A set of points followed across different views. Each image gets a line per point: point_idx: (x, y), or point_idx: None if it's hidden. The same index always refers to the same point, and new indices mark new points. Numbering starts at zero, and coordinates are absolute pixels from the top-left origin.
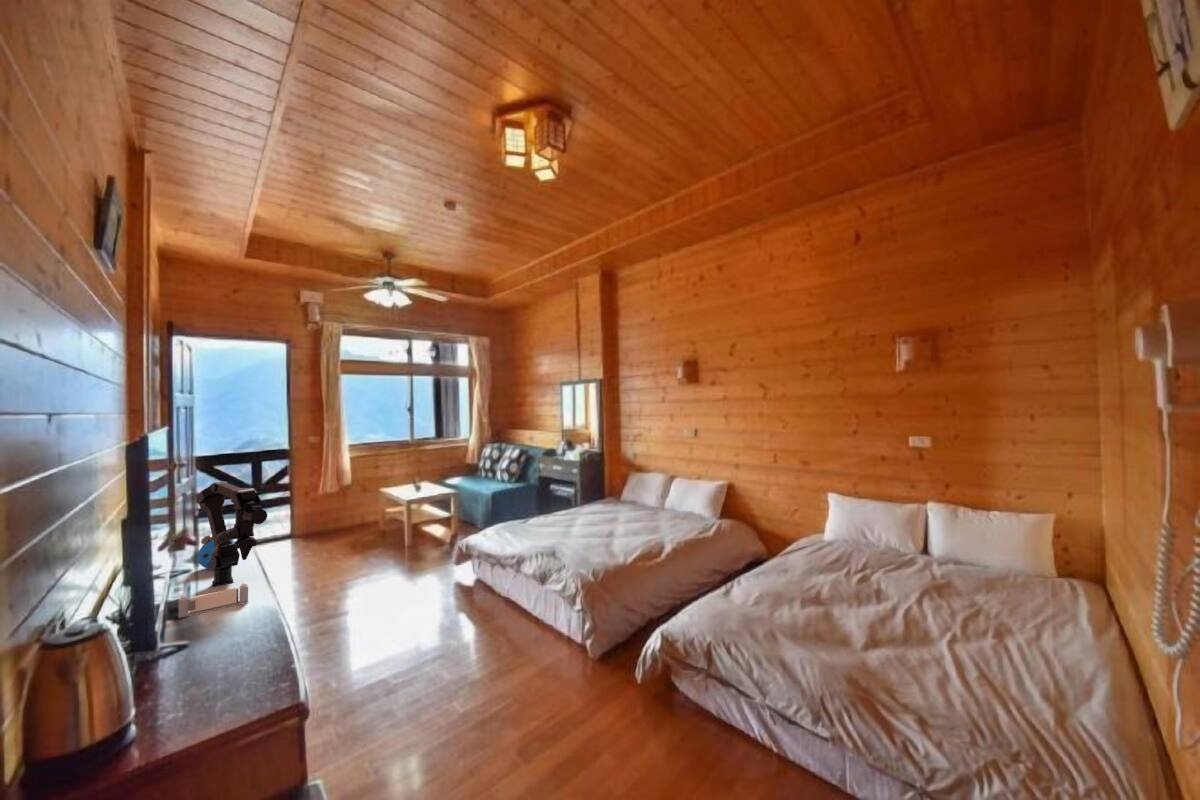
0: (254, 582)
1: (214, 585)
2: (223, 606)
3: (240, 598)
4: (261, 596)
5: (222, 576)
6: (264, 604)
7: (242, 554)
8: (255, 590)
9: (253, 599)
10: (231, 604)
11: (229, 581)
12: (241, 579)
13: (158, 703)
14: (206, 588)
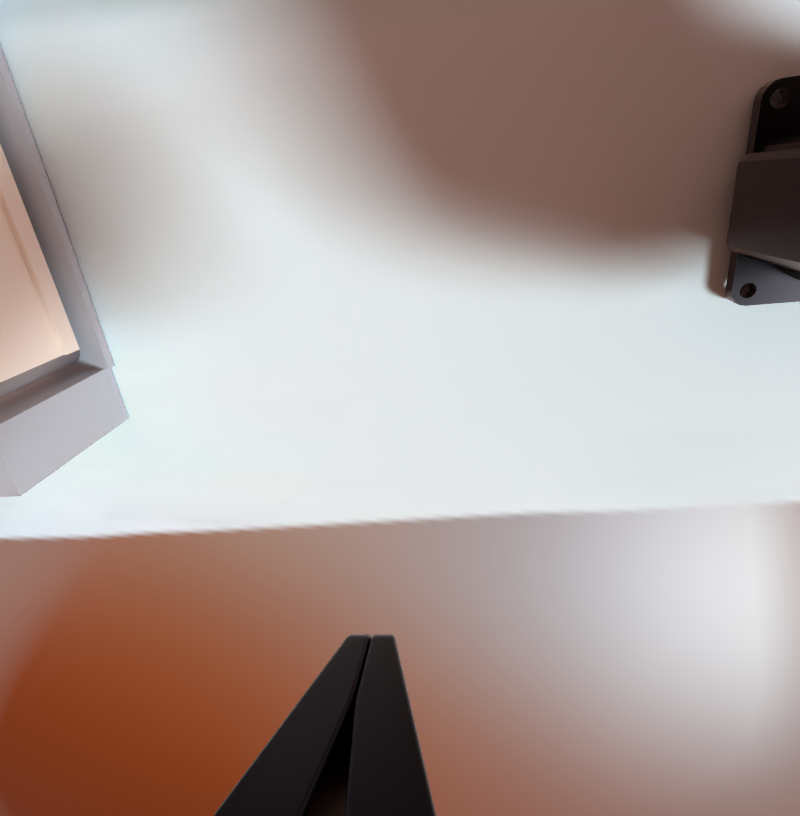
0: (576, 472)
1: (757, 101)
2: None
3: (19, 392)
4: (179, 501)
5: (791, 197)
6: (10, 509)
7: (258, 776)
8: (343, 472)
9: (135, 454)
10: None
11: (766, 267)
12: (783, 374)
13: None
14: (758, 2)
